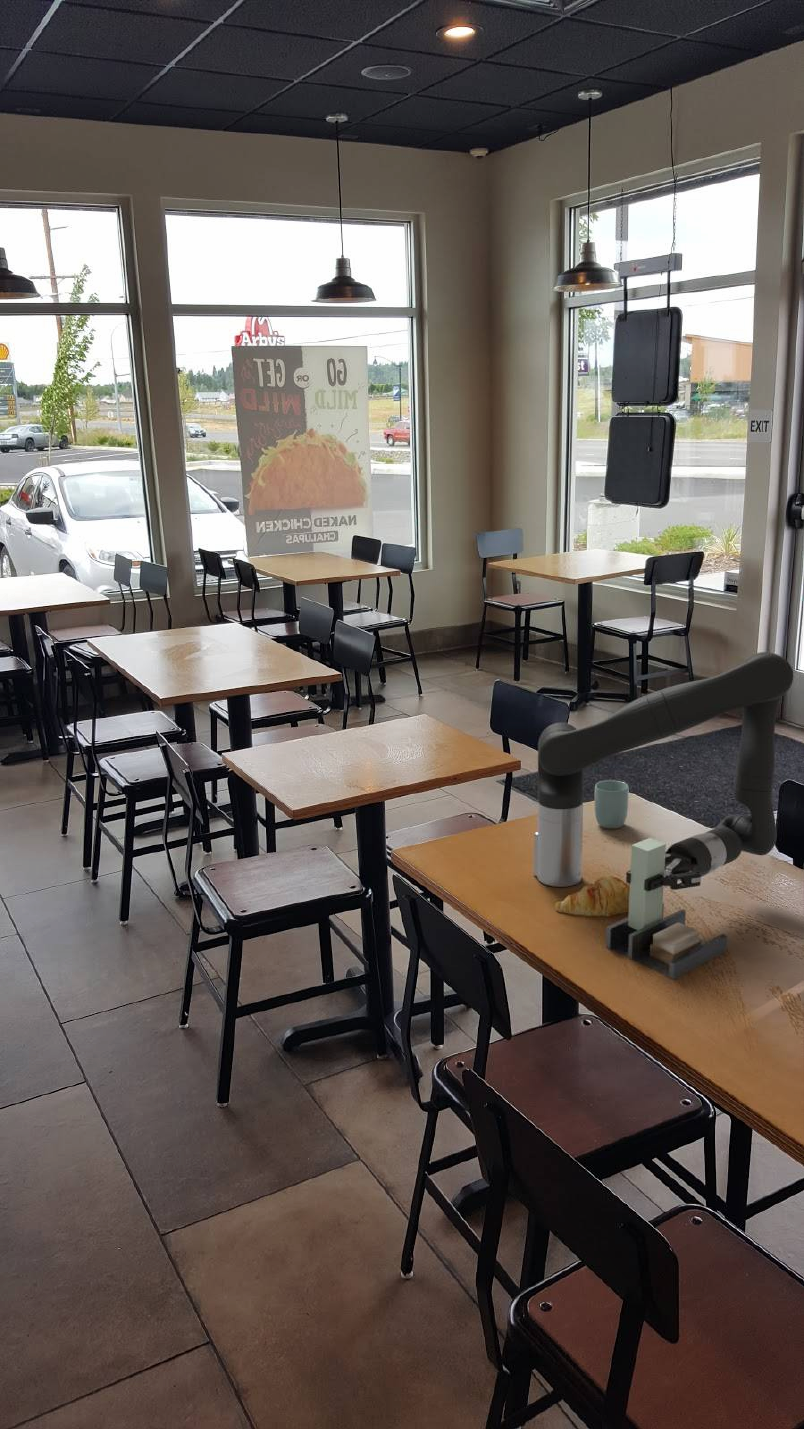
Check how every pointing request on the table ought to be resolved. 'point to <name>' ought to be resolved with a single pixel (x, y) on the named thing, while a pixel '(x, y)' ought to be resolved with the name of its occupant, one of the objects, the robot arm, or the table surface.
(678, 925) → the offcut upper
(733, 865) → the table surface
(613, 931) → the rack
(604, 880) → the croissant
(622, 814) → the cup
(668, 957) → the offcut lower
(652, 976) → the table surface
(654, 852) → the tall mint green block
